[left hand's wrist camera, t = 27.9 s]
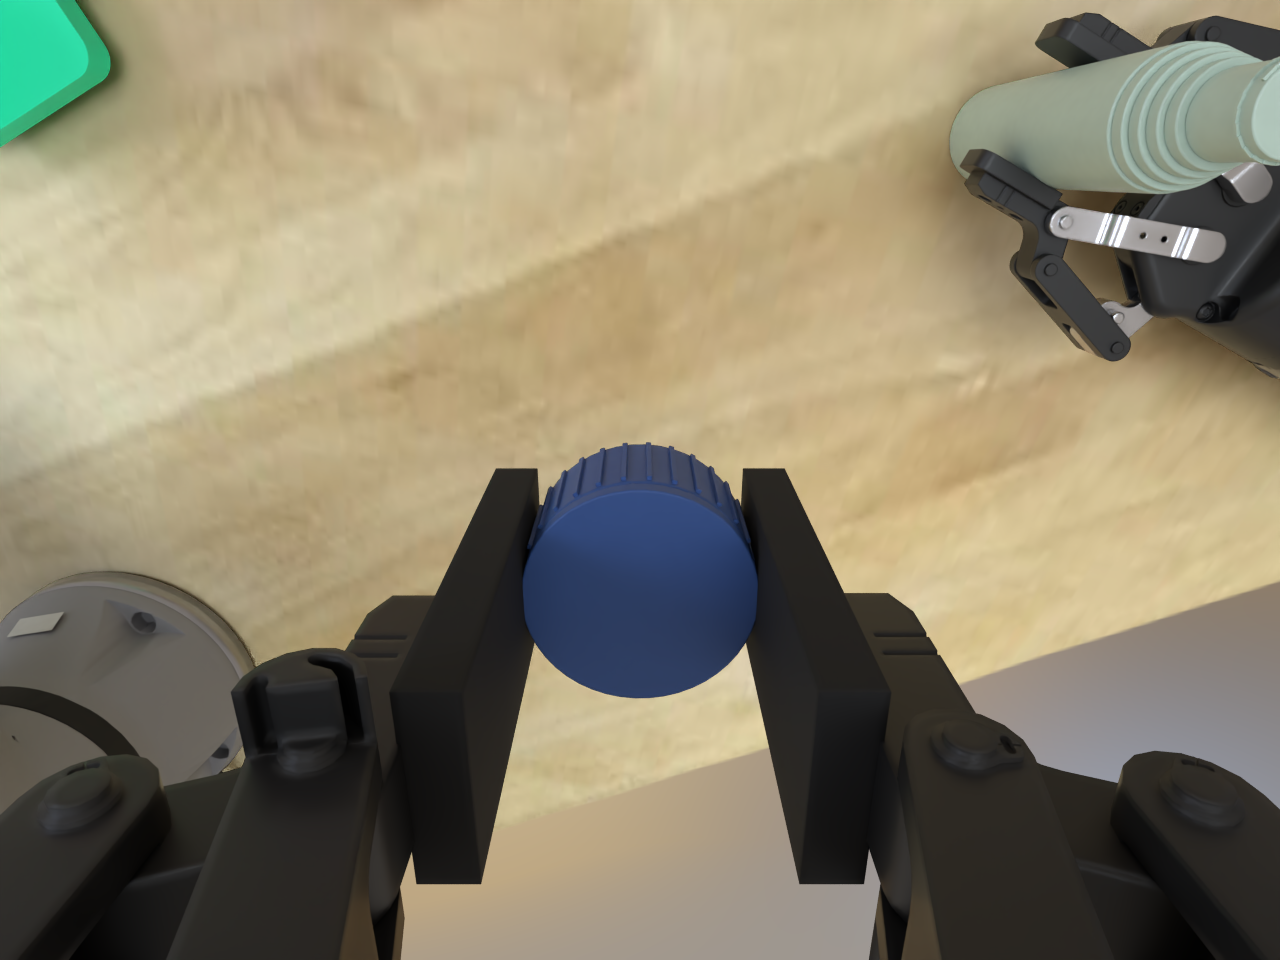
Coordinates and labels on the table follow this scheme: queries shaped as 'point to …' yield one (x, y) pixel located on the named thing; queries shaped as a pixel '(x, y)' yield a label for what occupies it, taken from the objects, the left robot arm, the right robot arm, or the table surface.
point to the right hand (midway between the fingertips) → (1010, 97)
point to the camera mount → (45, 61)
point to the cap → (640, 573)
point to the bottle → (1131, 120)
